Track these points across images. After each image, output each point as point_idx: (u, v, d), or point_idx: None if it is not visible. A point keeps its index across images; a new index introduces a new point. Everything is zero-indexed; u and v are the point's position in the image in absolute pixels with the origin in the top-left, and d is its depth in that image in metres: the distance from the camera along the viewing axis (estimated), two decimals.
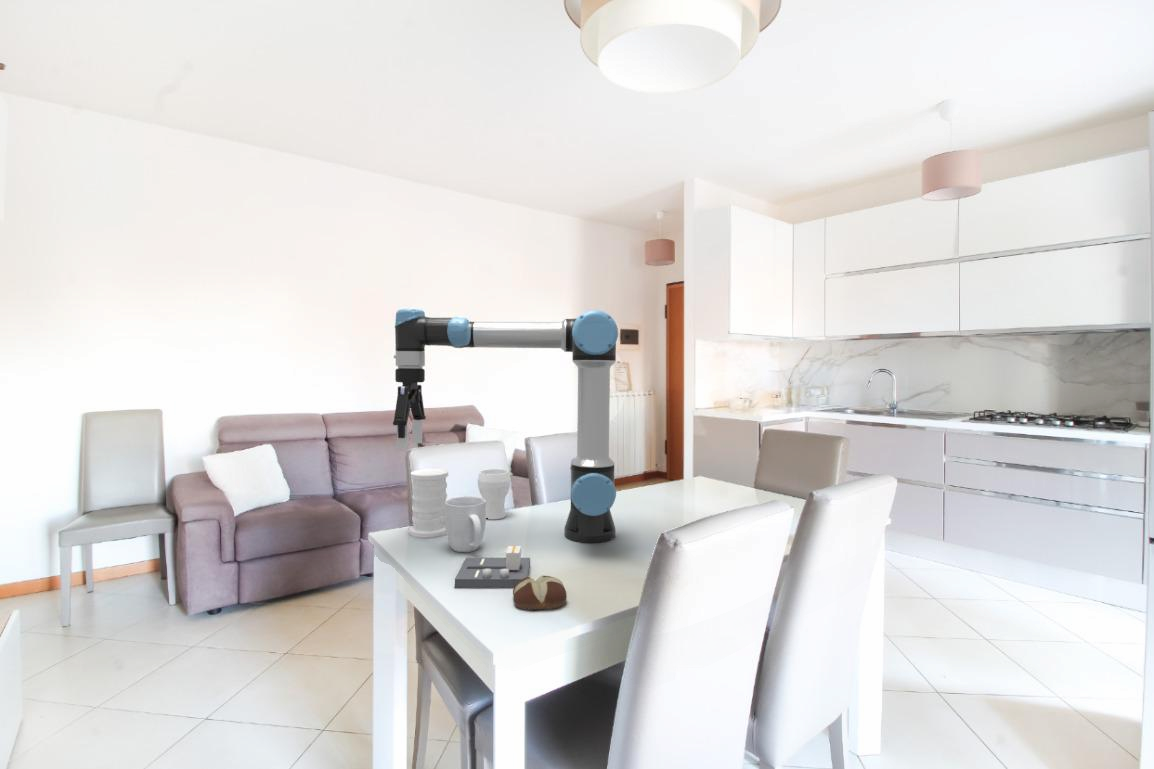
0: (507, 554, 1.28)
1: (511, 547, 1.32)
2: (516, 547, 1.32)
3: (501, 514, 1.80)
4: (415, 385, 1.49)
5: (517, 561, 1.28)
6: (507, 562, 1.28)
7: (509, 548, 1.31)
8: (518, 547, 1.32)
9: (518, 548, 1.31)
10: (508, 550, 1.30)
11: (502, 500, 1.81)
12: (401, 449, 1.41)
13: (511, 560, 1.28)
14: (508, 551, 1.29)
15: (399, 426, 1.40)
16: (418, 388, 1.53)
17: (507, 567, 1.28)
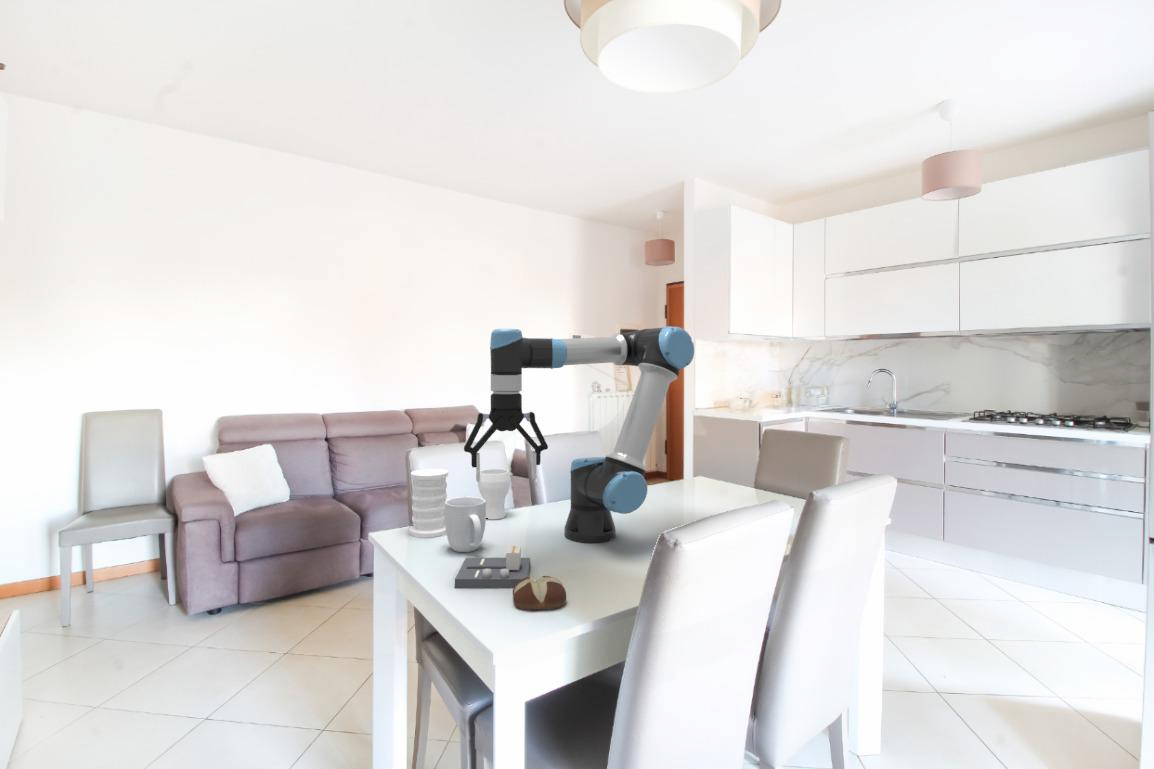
0: (507, 554, 1.28)
1: (511, 547, 1.32)
2: (516, 547, 1.32)
3: (501, 514, 1.80)
4: (511, 412, 1.33)
5: (517, 561, 1.28)
6: (507, 562, 1.28)
7: (509, 548, 1.31)
8: (518, 547, 1.32)
9: (518, 548, 1.31)
10: (508, 550, 1.30)
11: (502, 500, 1.81)
12: (476, 479, 1.33)
13: (511, 560, 1.28)
14: (508, 551, 1.29)
15: (471, 454, 1.33)
16: (529, 416, 1.35)
17: (507, 567, 1.28)
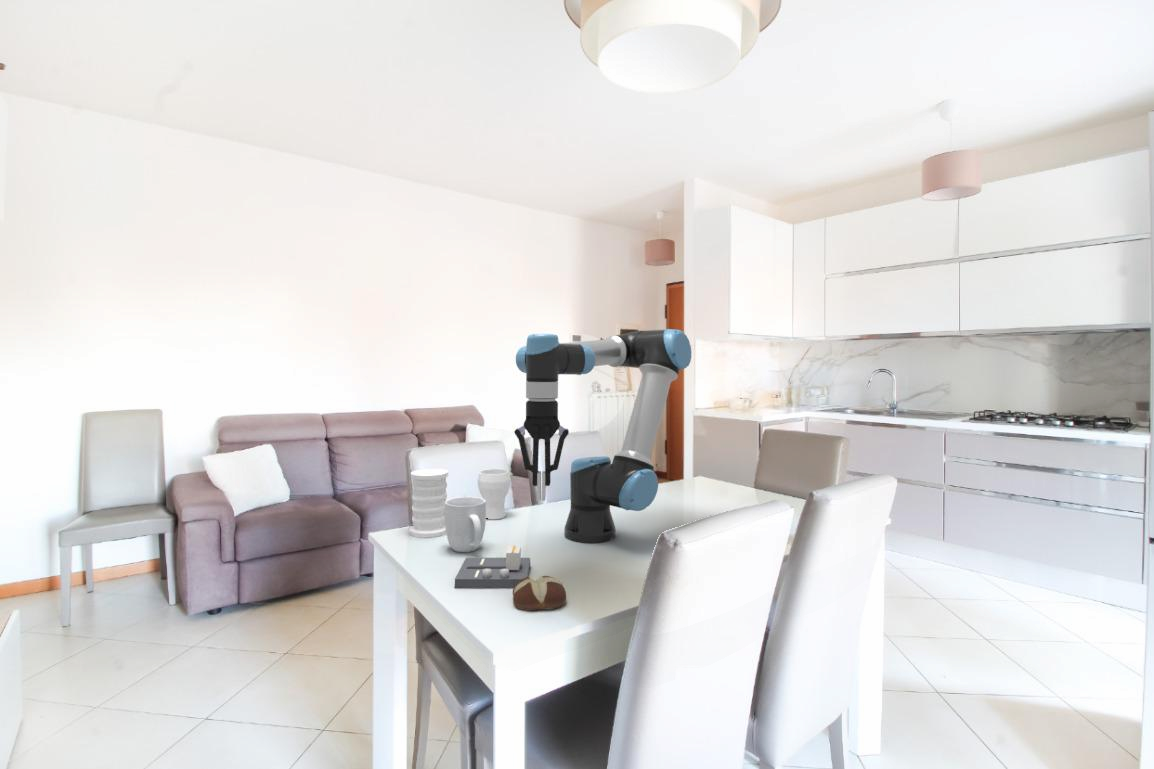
0: (507, 554, 1.28)
1: (511, 547, 1.32)
2: (516, 547, 1.32)
3: (501, 514, 1.80)
4: (550, 416, 1.29)
5: (517, 561, 1.28)
6: (507, 562, 1.28)
7: (509, 548, 1.31)
8: (518, 547, 1.32)
9: (518, 548, 1.31)
10: (508, 550, 1.30)
11: (502, 500, 1.81)
12: None
13: (511, 560, 1.28)
14: (508, 551, 1.29)
15: None
16: (563, 431, 1.29)
17: (507, 567, 1.28)
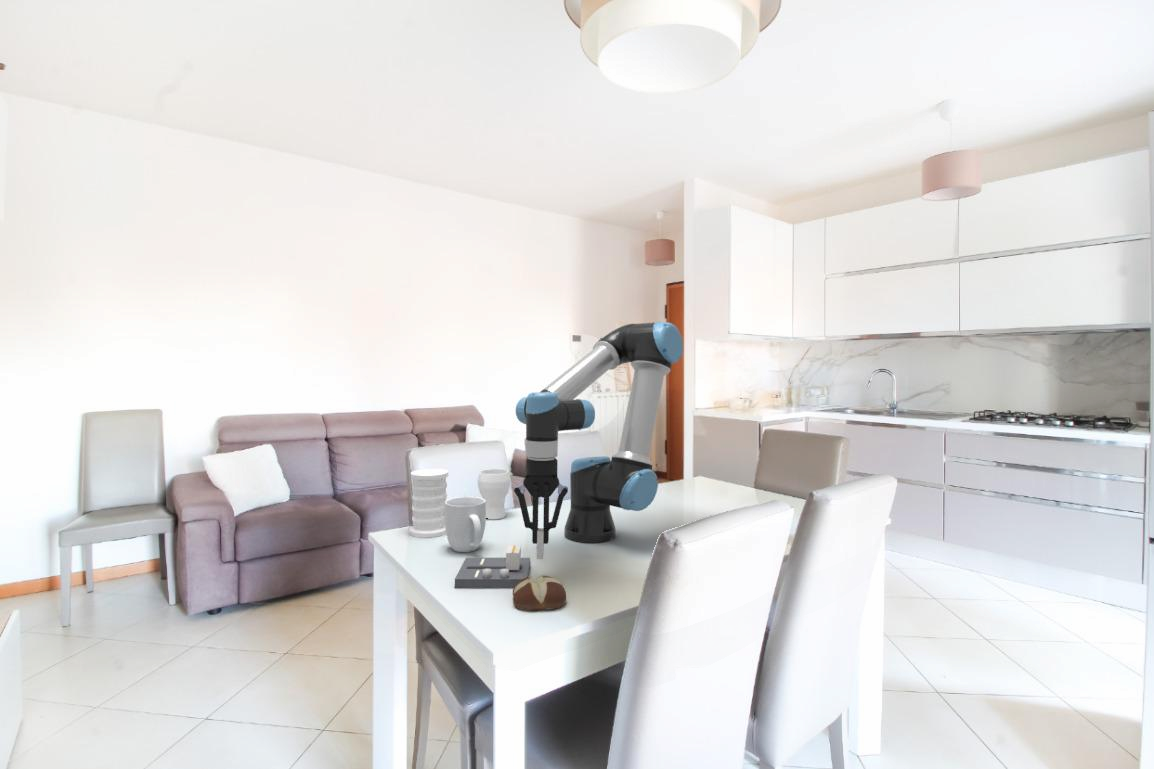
0: (507, 554, 1.28)
1: (511, 547, 1.32)
2: (516, 547, 1.32)
3: (501, 514, 1.80)
4: None
5: (517, 561, 1.28)
6: (507, 562, 1.28)
7: (509, 548, 1.31)
8: (518, 547, 1.32)
9: (518, 548, 1.31)
10: (508, 550, 1.30)
11: (502, 500, 1.81)
12: None
13: (511, 560, 1.28)
14: (508, 551, 1.29)
15: None
16: (562, 490, 1.30)
17: (507, 567, 1.28)
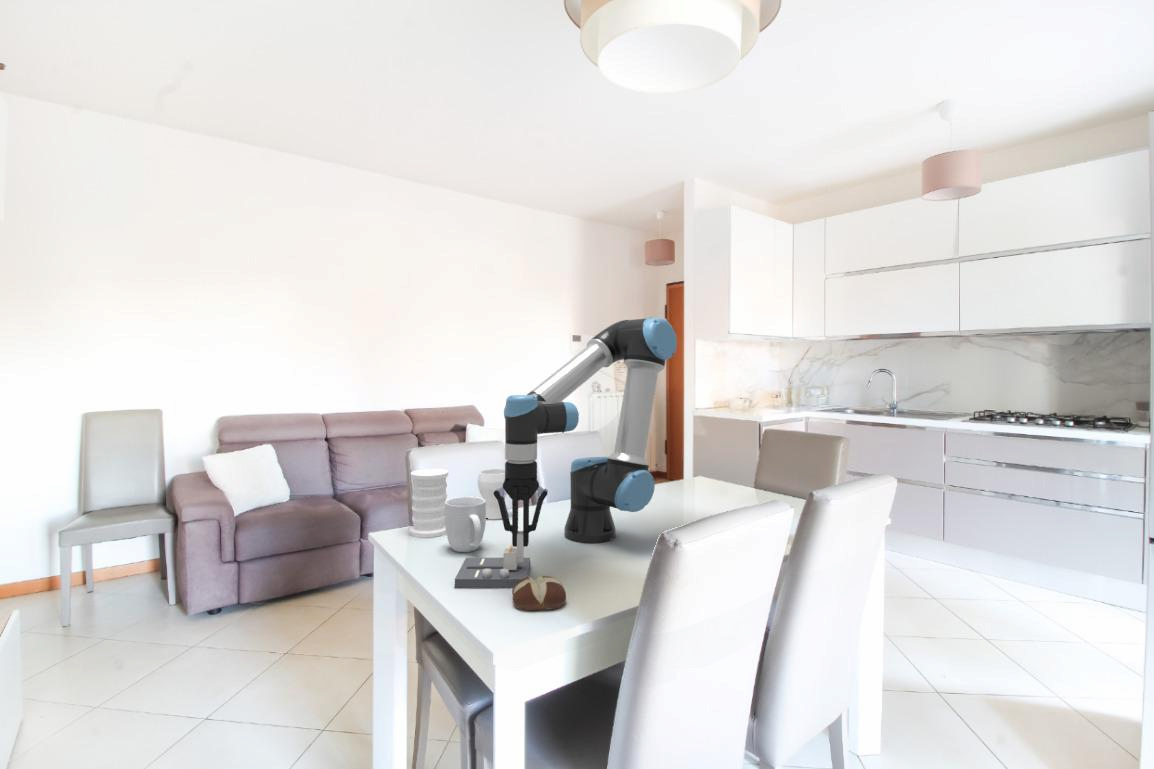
0: (504, 554, 1.28)
1: (508, 547, 1.32)
2: (513, 547, 1.32)
3: None
4: None
5: (514, 561, 1.28)
6: (504, 562, 1.28)
7: (506, 548, 1.31)
8: (515, 547, 1.32)
9: (515, 548, 1.31)
10: (505, 549, 1.30)
11: None
12: None
13: (509, 560, 1.28)
14: (505, 551, 1.29)
15: None
16: (542, 492, 1.30)
17: (504, 567, 1.28)
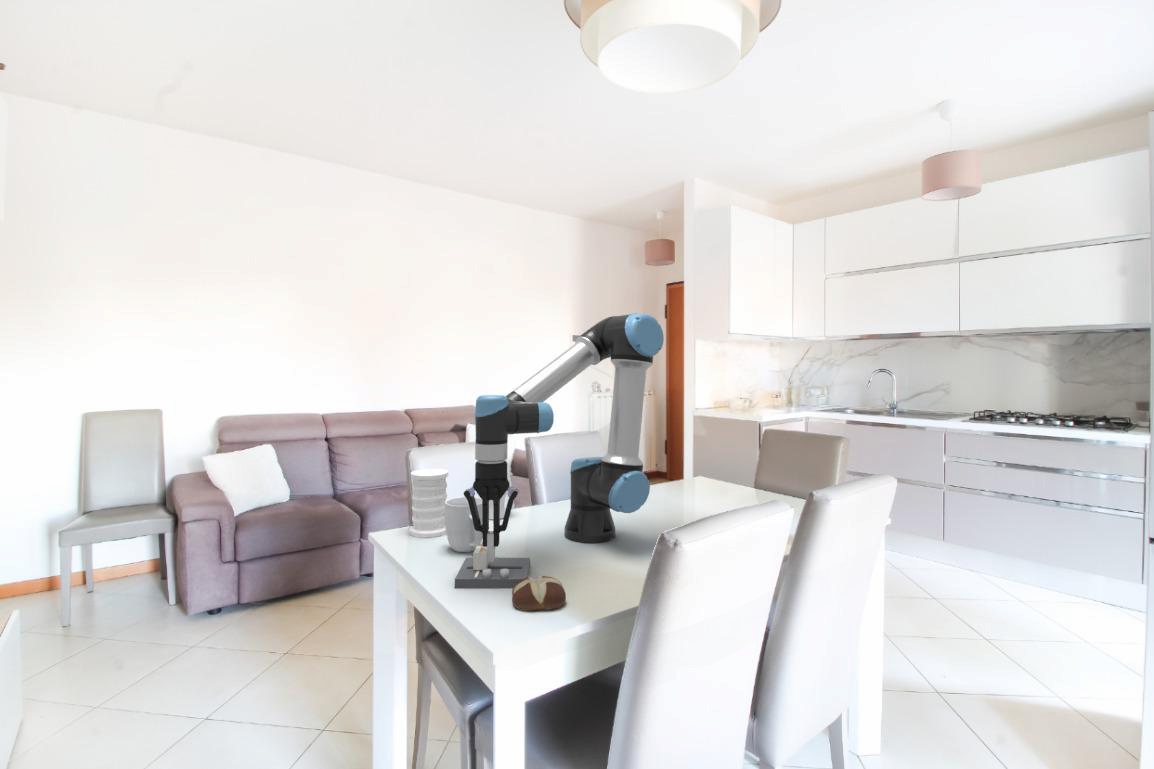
0: (474, 554, 1.28)
1: (479, 547, 1.32)
2: (484, 547, 1.32)
3: (501, 514, 1.80)
4: None
5: (484, 561, 1.28)
6: (474, 562, 1.28)
7: (477, 548, 1.31)
8: (486, 547, 1.32)
9: (486, 548, 1.31)
10: (476, 549, 1.30)
11: (502, 500, 1.81)
12: None
13: (479, 560, 1.28)
14: (476, 551, 1.29)
15: None
16: (512, 493, 1.30)
17: (474, 567, 1.28)
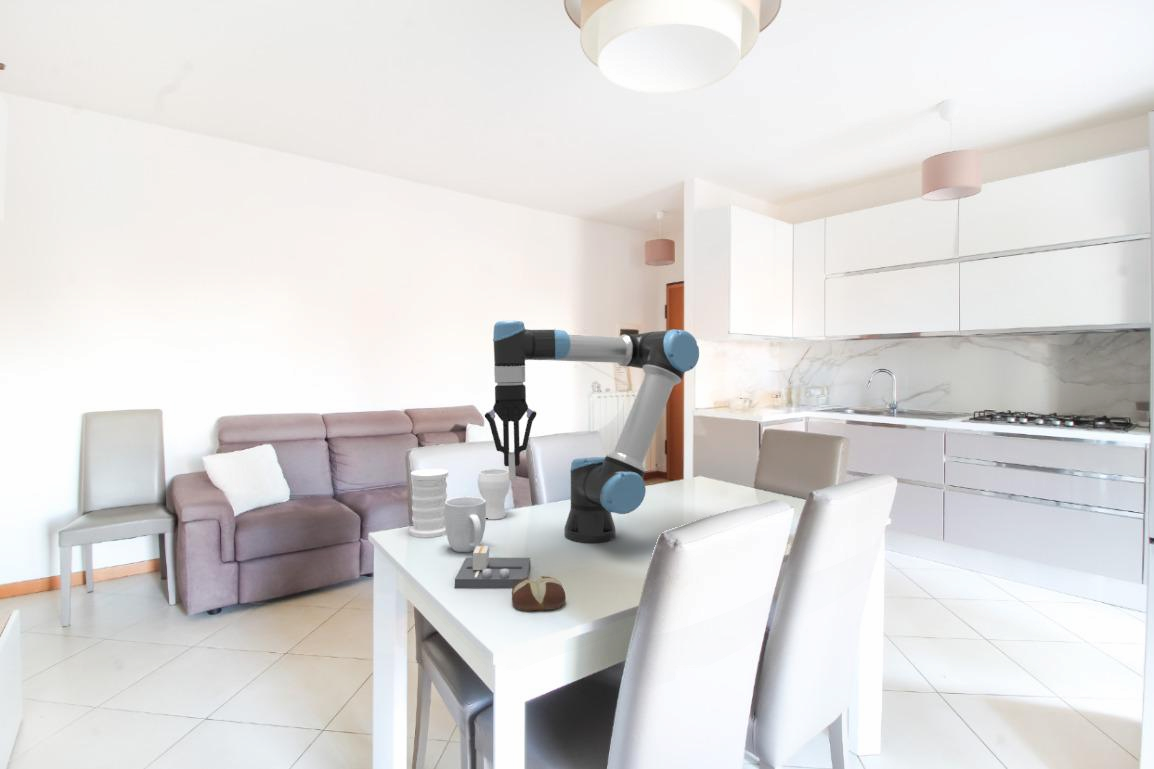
0: (474, 554, 1.28)
1: (479, 547, 1.32)
2: (484, 547, 1.32)
3: (501, 514, 1.80)
4: (519, 399, 1.35)
5: (484, 561, 1.28)
6: (474, 562, 1.28)
7: (477, 548, 1.31)
8: (486, 547, 1.32)
9: (486, 548, 1.31)
10: (475, 549, 1.30)
11: (502, 500, 1.81)
12: None
13: (478, 560, 1.28)
14: (475, 551, 1.29)
15: None
16: (531, 414, 1.36)
17: (474, 567, 1.28)
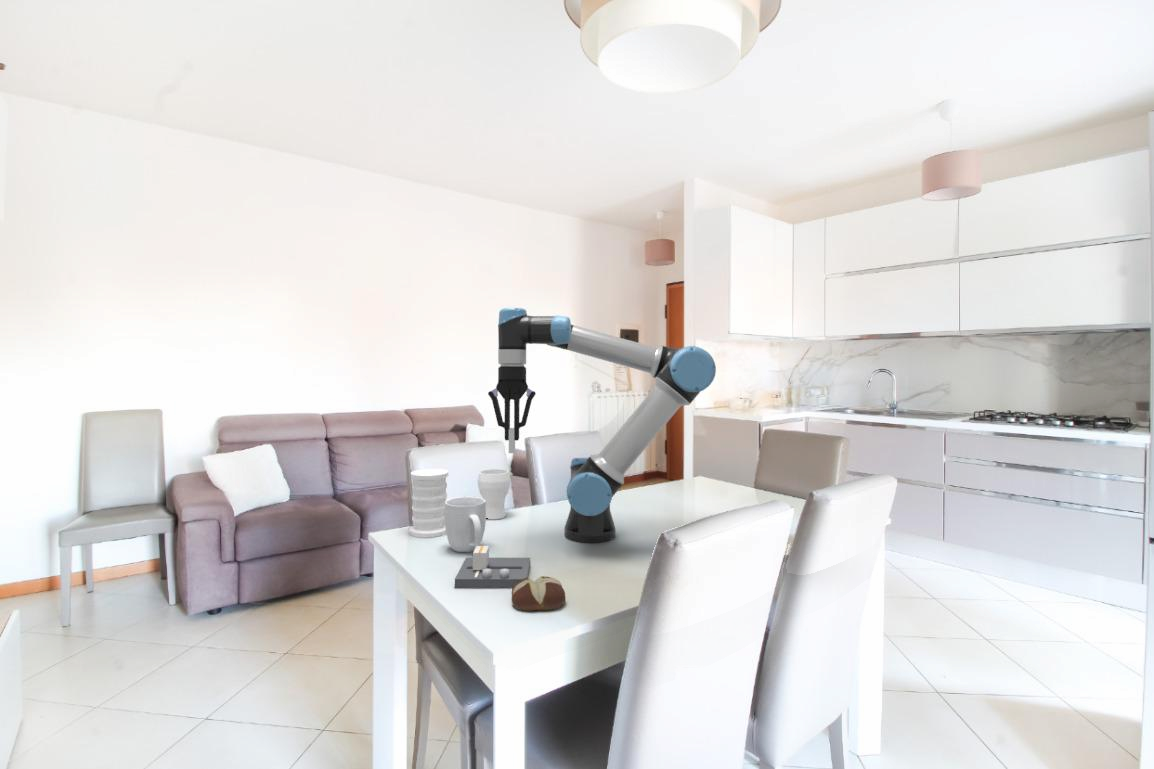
0: (474, 554, 1.28)
1: (479, 547, 1.32)
2: (484, 547, 1.32)
3: (501, 514, 1.80)
4: (520, 379, 1.48)
5: (484, 561, 1.28)
6: (474, 562, 1.28)
7: (477, 548, 1.31)
8: (486, 547, 1.32)
9: (486, 548, 1.31)
10: (475, 549, 1.30)
11: (502, 500, 1.81)
12: None
13: (478, 560, 1.28)
14: (475, 551, 1.29)
15: (505, 429, 1.50)
16: None
17: (474, 567, 1.28)
